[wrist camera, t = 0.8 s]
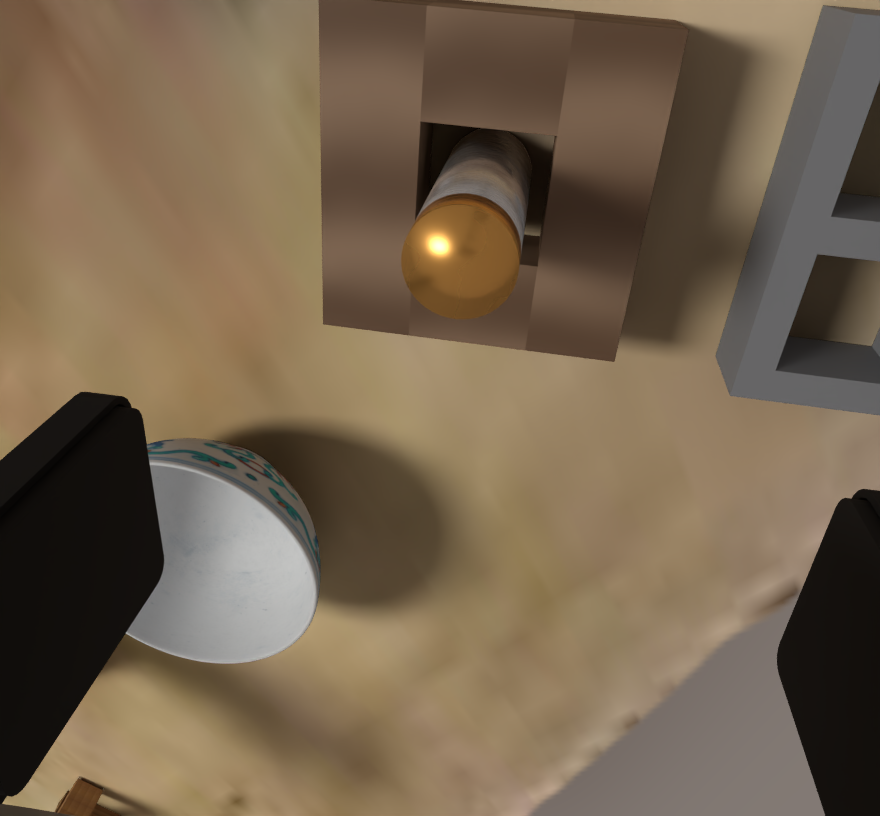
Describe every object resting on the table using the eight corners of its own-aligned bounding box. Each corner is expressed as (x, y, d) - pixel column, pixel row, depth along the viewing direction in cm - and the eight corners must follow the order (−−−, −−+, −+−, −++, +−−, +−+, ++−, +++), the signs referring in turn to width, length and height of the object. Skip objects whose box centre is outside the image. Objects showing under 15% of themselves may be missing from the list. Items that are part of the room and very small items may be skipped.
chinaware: (76, 447, 48) (0, 526, 42) (245, 344, 42) (188, 417, 36) (229, 599, 54) (183, 690, 47) (397, 527, 48) (370, 619, 41)
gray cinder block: (823, 5, 30) (855, 13, 27) (1054, 26, 29) (1118, 37, 26) (715, 356, 39) (730, 395, 35) (892, 378, 38) (924, 421, 35)
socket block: (344, -11, 32) (318, -5, 29) (675, 20, 31) (689, 29, 28) (343, 291, 40) (323, 324, 36) (610, 324, 38) (614, 361, 35)
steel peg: (450, 123, 34) (403, 199, 24) (537, 132, 34) (526, 213, 24) (444, 209, 37) (398, 311, 26) (525, 218, 36) (511, 326, 26)
